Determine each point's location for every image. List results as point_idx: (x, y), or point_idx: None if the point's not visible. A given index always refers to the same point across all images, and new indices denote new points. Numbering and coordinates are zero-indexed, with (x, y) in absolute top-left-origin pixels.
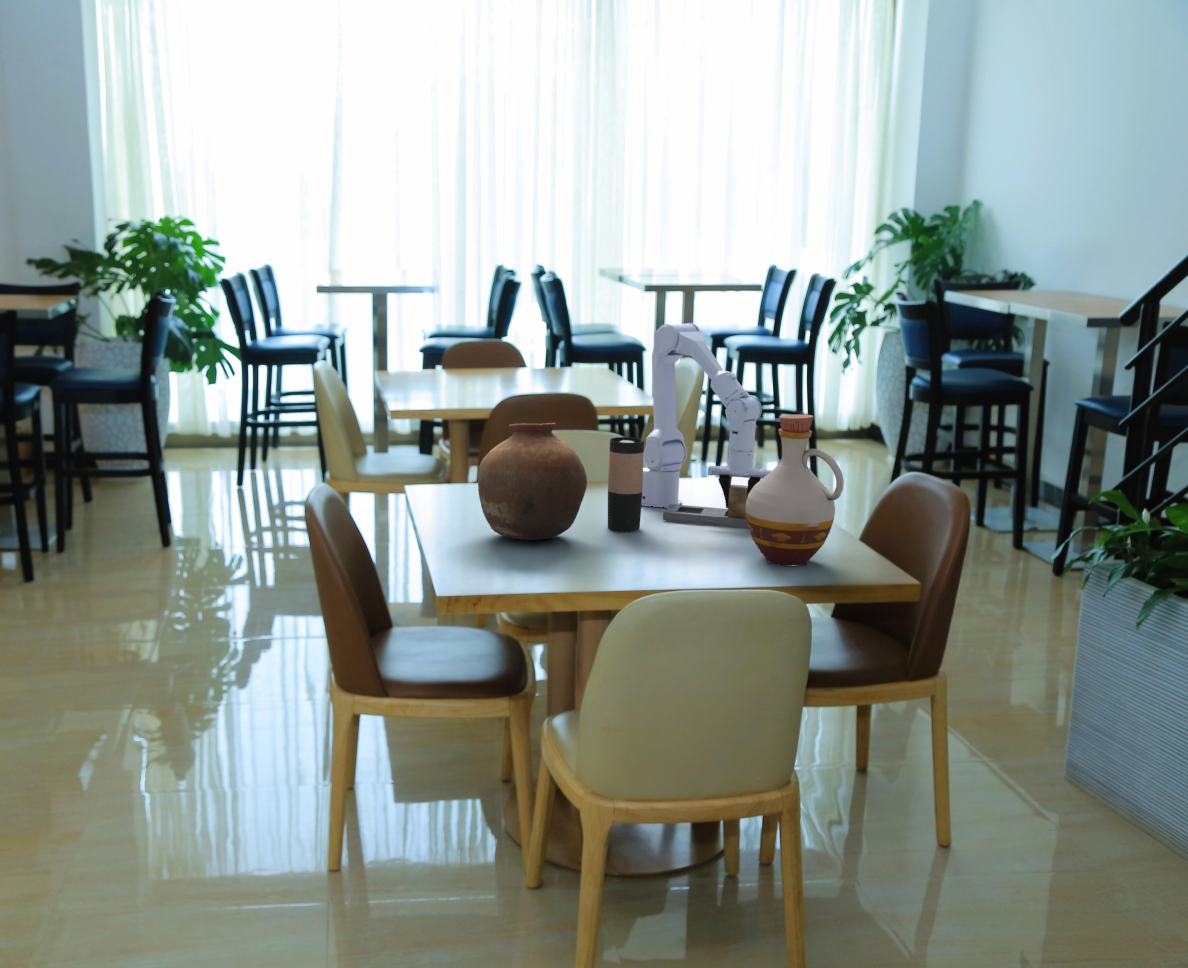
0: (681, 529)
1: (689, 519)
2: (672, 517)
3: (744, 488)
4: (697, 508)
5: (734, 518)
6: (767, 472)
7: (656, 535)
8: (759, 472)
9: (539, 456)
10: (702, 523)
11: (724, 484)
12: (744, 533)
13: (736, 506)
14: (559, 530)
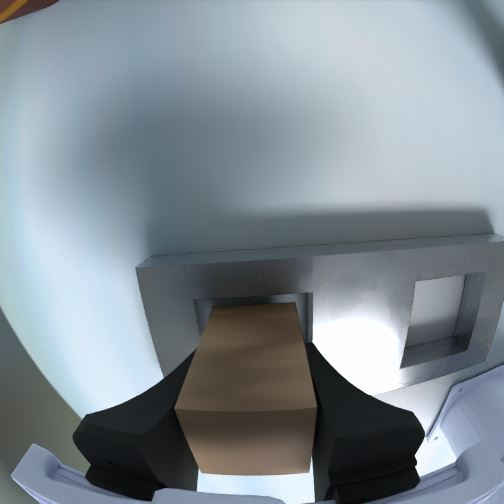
0: (436, 124)
1: (439, 241)
2: (484, 237)
3: (200, 426)
4: (419, 363)
5: (252, 259)
6: (26, 482)
7: (460, 36)
8: (56, 496)
9: None
10: (389, 240)
11: (364, 414)
12: (187, 154)
13: (254, 335)
14: None
